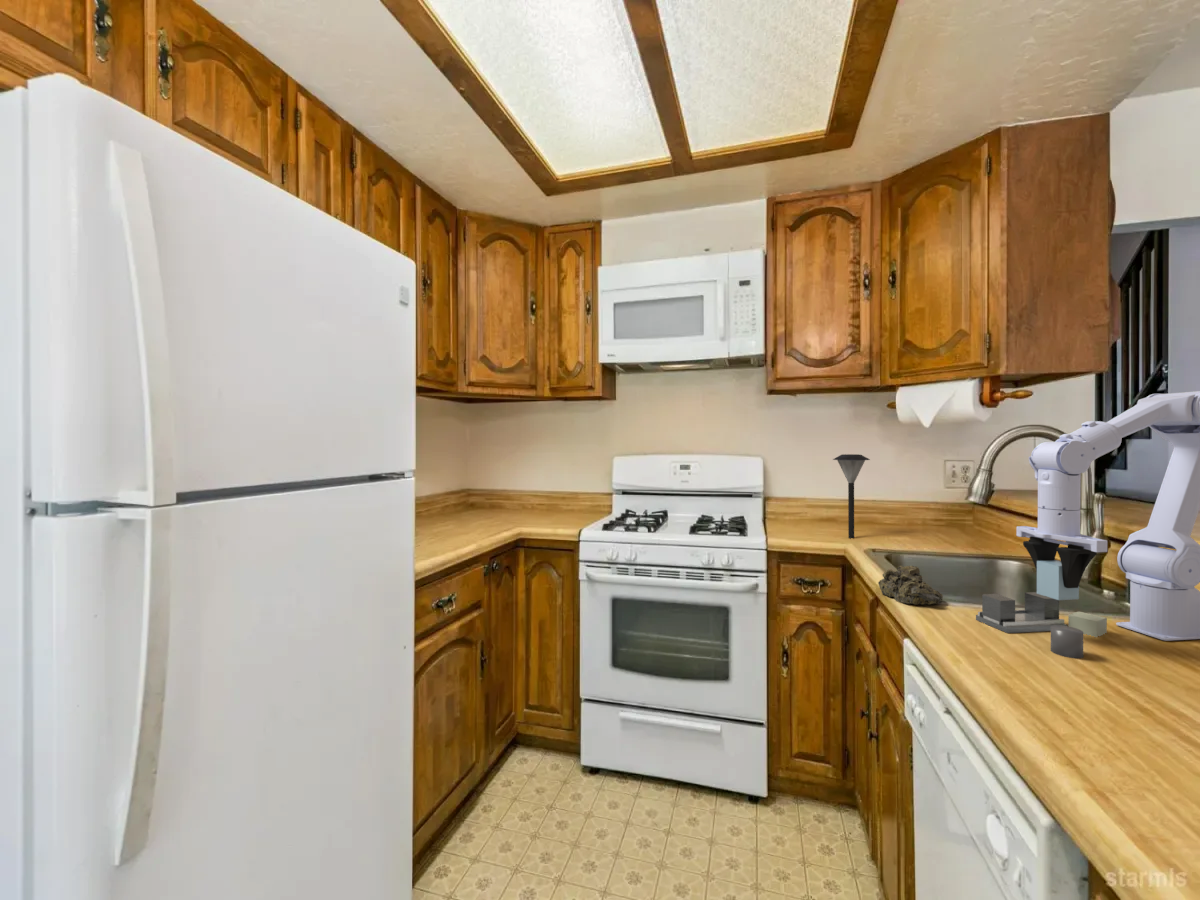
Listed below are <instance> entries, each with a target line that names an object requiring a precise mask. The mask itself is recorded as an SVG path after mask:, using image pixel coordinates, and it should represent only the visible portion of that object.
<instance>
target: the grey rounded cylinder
mask: <svg viewBox="0 0 1200 900" xmlns="http://www.w3.org/2000/svg"><path fill="white" fill-rule="evenodd" d="M1050 652H1052V653H1053V654H1055V655H1057V656H1060V657H1064V658H1069V659H1083V658H1084V634H1083V631H1081V630H1079V629H1076V628H1073V627H1069V626H1068V625H1067V626H1062V625H1053V626H1051V631H1050Z"/></svg>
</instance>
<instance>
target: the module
mask: <svg viewBox="0 0 1200 900" xmlns="http://www.w3.org/2000/svg"><path fill="white" fill-rule="evenodd" d="M1036 592H1037V594H1040V595H1043V596H1047V597H1050V598H1053V599H1056V600H1059V601H1065V600H1066V601H1069V600H1070V601H1071V600H1079V599H1080V585H1079V586H1078V588H1066V587H1064V583H1063V571H1062V564H1061V560H1057V559H1055V560H1045V561H1037V571H1036Z"/></svg>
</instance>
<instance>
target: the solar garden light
mask: <svg viewBox="0 0 1200 900" xmlns="http://www.w3.org/2000/svg"><path fill="white" fill-rule="evenodd" d="M832 461H837V463H838V464H839V467H840V469H841V471H842V473H843V475H844V476H845V479H846V481H847V485H848V487H847V488H848V492H847V493H848V495H847V496H848V497H847V499H848V500H847V501H848V507H847V508H848V509H847V510H848V520H847V521H848V522H847V523H848V527H847V528H848V530H847V531H848V539H851V538H854V539H855V482H856V480H857V478H858V476H859V474H860V472H861V470H862V467H863V465H864V464H865V461H871V459H870V458H868V457H866V456H864V455H862V454H854V453H853V454H852V453H851V454H849V453H845V454H844V453H843V454H840V455H838V456H837V457H835V458H832Z"/></svg>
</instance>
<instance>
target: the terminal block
mask: <svg viewBox="0 0 1200 900" xmlns="http://www.w3.org/2000/svg"><path fill="white" fill-rule="evenodd" d="M1107 619H1108V618H1107V617H1104V616H1101V615H1096V614H1091V613H1086V612H1083V611H1076V612H1073V613H1071V614H1070V613H1069V614H1068V618H1067V622H1068V624H1067V626H1069V627H1073V628H1076V629H1079V630H1081V631H1083V635H1086V634H1087V635H1086V636H1089V635H1091V636H1090V637H1093V636H1094V638H1099V637H1102V636H1103V634H1104V635H1106V634H1108V631H1107V628H1108V627H1107V625H1108V623H1107V622H1108V621H1107ZM1105 633H1106V634H1105ZM1098 636H1099V637H1098Z"/></svg>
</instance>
